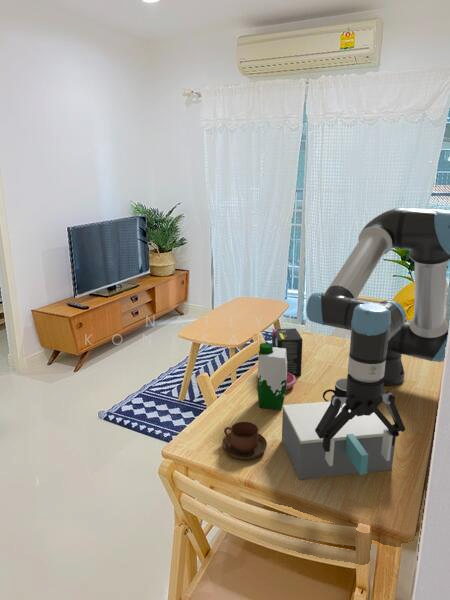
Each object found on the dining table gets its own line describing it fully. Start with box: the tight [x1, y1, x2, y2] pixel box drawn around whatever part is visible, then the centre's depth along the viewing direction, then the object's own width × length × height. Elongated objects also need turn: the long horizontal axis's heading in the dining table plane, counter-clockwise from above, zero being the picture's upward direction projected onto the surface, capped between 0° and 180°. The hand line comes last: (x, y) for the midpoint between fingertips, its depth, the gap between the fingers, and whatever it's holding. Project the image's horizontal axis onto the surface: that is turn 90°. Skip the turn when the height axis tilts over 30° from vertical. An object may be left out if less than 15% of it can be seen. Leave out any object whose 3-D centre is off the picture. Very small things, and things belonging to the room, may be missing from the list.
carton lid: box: [282, 400, 388, 476], centre depth 109 cm, size 24×25×5 cm
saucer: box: [286, 372, 296, 391], centre depth 153 cm, size 12×12×3 cm
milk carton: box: [257, 342, 287, 411], centre depth 138 cm, size 9×9×20 cm
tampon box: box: [271, 328, 303, 377], centre depth 162 cm, size 11×9×15 cm
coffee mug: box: [322, 377, 347, 402], centre depth 134 cm, size 12×9×10 cm
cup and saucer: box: [221, 421, 268, 460], centre depth 118 cm, size 12×12×6 cm
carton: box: [281, 408, 397, 481], centre depth 114 cm, size 24×16×10 cm, turn 98°
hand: (357, 459), depth 101 cm, fingers open, 13 cm apart
